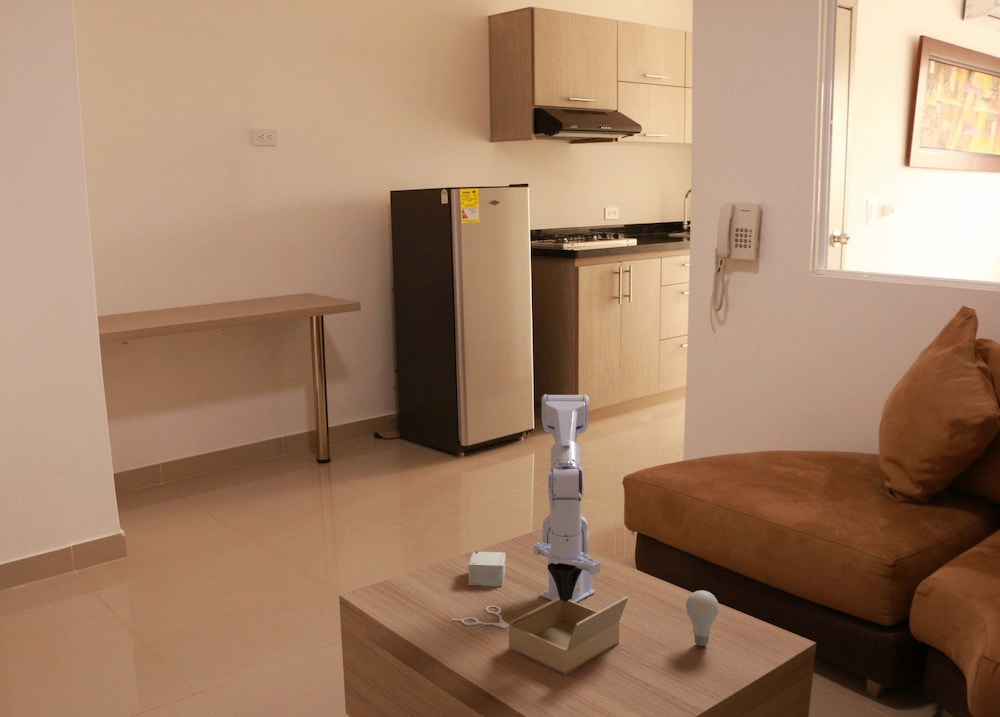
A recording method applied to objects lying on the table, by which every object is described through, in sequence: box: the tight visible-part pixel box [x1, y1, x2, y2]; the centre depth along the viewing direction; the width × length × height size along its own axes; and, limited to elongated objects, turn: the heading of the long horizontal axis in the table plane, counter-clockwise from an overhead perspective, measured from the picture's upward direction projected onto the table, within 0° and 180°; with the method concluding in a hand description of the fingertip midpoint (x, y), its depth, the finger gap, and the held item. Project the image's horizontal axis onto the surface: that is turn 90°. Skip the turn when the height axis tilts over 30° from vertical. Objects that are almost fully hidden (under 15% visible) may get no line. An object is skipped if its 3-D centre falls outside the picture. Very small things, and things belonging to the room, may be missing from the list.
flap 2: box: [567, 595, 629, 650], centre depth 165 cm, size 15×6×1 cm
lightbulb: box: [685, 589, 720, 648], centre depth 170 cm, size 6×6×11 cm
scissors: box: [451, 605, 510, 632], centre depth 180 cm, size 11×1×20 cm
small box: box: [467, 551, 507, 587], centre depth 202 cm, size 8×8×5 cm
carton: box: [508, 600, 620, 677], centre depth 171 cm, size 16×14×5 cm
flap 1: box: [509, 588, 580, 625], centre depth 174 cm, size 15×6×1 cm
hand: (565, 599), depth 170 cm, fingers closed
